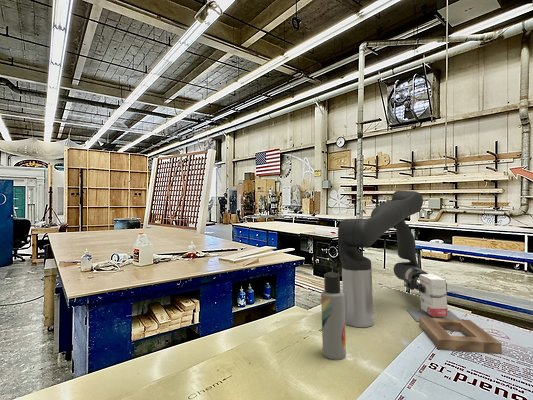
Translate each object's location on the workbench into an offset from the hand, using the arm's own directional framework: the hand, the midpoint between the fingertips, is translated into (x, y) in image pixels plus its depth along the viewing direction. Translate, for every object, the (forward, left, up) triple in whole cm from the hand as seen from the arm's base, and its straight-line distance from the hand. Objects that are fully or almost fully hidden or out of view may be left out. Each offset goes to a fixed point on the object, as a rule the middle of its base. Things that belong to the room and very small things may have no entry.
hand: (433, 290), depth 95 cm
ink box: (0, +1, -8) cm, 8 cm away
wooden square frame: (0, -16, -9) cm, 18 cm away
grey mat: (0, +1, -9) cm, 9 cm away
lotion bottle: (-33, -31, -9) cm, 46 cm away
